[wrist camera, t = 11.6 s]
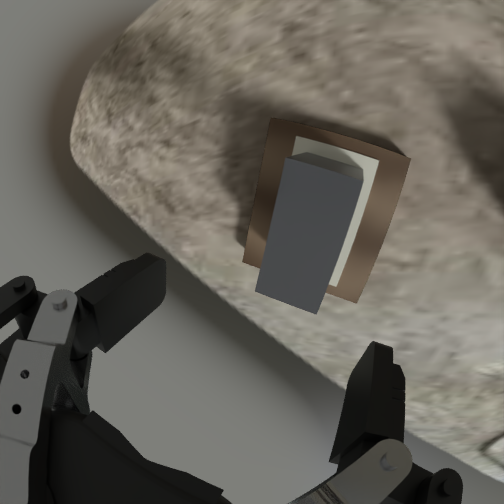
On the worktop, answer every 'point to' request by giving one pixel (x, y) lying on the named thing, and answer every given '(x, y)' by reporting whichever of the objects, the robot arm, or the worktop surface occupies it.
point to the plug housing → (308, 229)
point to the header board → (367, 209)
